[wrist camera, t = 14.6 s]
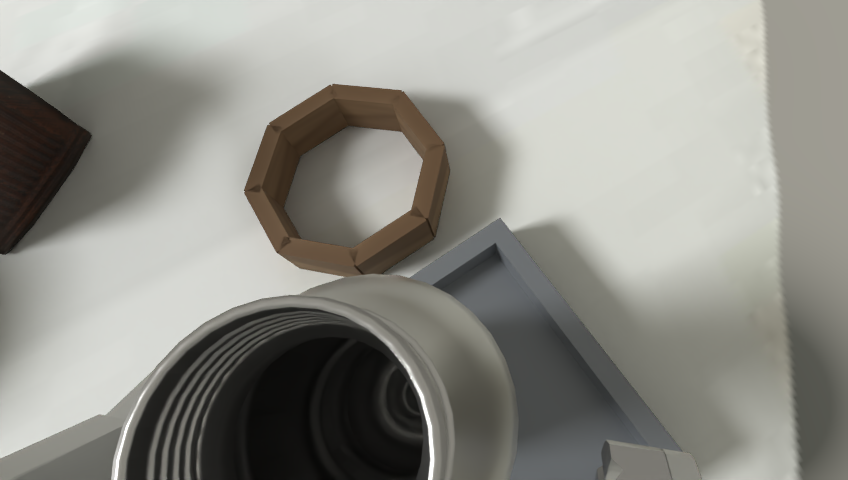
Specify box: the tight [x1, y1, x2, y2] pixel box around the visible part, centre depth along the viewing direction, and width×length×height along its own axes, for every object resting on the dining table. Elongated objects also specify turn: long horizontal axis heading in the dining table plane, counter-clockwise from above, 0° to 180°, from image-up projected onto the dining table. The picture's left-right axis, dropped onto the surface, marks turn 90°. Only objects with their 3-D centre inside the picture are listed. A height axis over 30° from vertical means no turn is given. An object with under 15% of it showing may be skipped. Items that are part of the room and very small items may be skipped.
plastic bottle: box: [111, 274, 519, 480], centre depth 15 cm, size 6×7×20 cm
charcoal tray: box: [410, 218, 683, 480], centre depth 23 cm, size 14×14×3 cm
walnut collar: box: [244, 84, 450, 277], centre depth 28 cm, size 11×11×3 cm
